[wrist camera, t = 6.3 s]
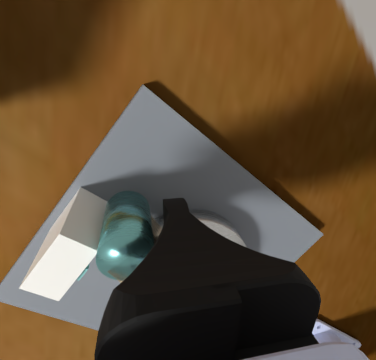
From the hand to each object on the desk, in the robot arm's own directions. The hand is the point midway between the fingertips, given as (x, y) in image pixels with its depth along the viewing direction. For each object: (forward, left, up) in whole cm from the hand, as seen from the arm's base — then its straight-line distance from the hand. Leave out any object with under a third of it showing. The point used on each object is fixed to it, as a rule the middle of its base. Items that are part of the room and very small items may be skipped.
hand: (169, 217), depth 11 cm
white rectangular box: (+3, +4, -2) cm, 5 cm away
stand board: (-4, +4, -3) cm, 6 cm away
